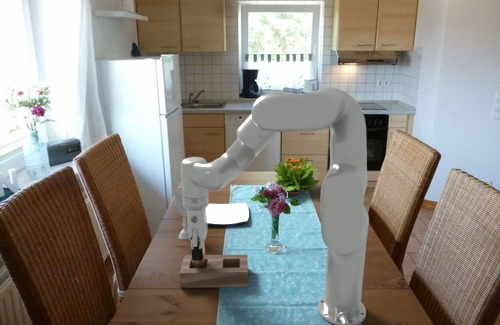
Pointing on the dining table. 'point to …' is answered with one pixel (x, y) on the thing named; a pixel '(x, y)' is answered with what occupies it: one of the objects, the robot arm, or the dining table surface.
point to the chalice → (181, 212)
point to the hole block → (215, 272)
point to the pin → (202, 263)
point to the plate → (227, 214)
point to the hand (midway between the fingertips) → (198, 255)
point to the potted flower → (295, 175)
